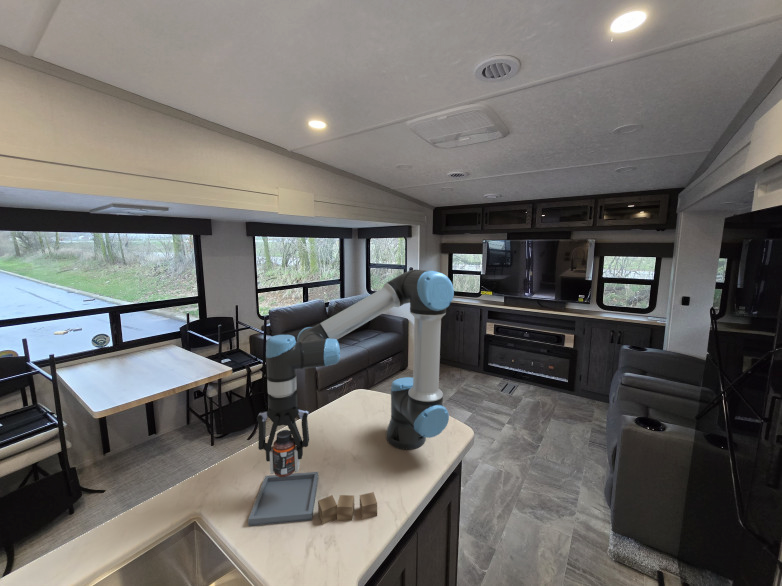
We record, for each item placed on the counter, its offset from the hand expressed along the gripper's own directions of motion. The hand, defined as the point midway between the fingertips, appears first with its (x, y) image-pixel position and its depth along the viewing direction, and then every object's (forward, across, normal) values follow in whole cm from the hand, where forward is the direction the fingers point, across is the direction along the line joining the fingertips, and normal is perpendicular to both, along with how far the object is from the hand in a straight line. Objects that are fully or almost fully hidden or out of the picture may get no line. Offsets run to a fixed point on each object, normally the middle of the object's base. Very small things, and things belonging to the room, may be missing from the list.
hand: (285, 469), depth 88 cm
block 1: (+9, -12, +7) cm, 17 cm away
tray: (+9, 0, 0) cm, 9 cm away
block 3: (+9, -23, +7) cm, 26 cm away
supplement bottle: (+1, 0, 0) cm, 1 cm away
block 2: (+9, -17, +7) cm, 21 cm away
